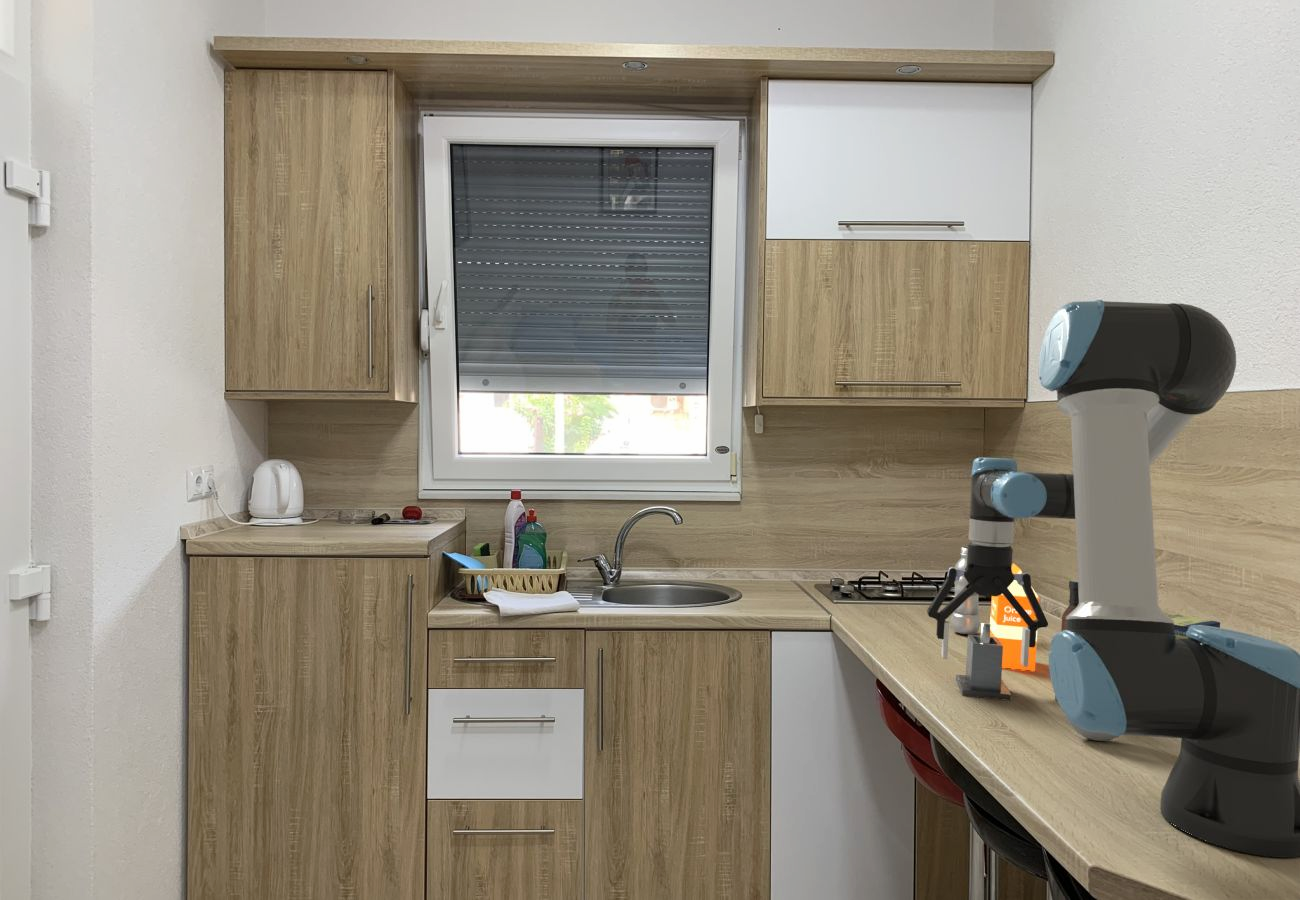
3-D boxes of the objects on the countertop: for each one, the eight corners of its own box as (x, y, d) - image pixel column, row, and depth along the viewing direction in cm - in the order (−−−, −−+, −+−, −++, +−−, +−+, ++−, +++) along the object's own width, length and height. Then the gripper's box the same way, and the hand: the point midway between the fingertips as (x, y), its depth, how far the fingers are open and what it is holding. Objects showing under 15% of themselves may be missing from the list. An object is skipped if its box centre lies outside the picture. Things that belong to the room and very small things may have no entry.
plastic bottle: (950, 635, 201) (955, 548, 200) (949, 629, 207) (953, 545, 207) (980, 638, 199) (985, 550, 199) (978, 632, 206) (983, 547, 205)
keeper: (1010, 700, 152) (1014, 631, 152) (962, 695, 154) (966, 627, 154) (1001, 684, 162) (1004, 620, 162) (955, 679, 164) (959, 616, 164)
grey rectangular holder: (1000, 691, 154) (1003, 646, 154) (970, 688, 155) (973, 643, 155) (994, 680, 161) (996, 637, 161) (965, 677, 162) (967, 634, 162)
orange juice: (993, 667, 174) (999, 567, 174) (987, 656, 183) (992, 561, 182) (1036, 671, 172) (1041, 570, 172) (1027, 660, 181) (1033, 564, 180)
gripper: (1060, 546, 158) (1053, 662, 159) (916, 536, 164) (910, 648, 164) (1070, 551, 151) (1063, 673, 151) (919, 540, 157) (913, 658, 157)
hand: (983, 661), depth 158 cm, fingers open, 13 cm apart
